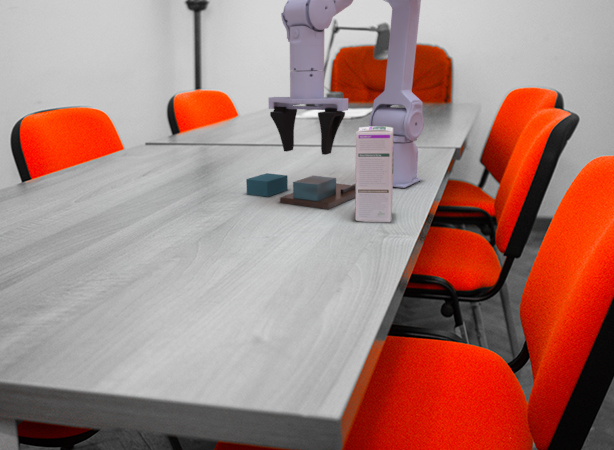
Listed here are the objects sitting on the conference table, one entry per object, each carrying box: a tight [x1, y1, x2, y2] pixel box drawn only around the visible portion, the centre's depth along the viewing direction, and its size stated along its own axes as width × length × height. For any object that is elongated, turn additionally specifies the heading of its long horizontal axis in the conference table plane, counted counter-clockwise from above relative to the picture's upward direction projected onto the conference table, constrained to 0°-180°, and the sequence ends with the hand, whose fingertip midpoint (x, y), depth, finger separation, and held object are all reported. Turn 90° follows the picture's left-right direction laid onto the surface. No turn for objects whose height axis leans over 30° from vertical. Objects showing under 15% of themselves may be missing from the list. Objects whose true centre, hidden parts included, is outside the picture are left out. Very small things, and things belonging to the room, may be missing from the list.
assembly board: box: [279, 175, 356, 210], centre depth 107 cm, size 16×10×4 cm, turn 145°
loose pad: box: [245, 172, 288, 198], centre depth 112 cm, size 7×5×3 cm
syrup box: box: [354, 125, 394, 223], centre depth 91 cm, size 6×6×14 cm
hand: (307, 152), depth 99 cm, fingers open, 7 cm apart
